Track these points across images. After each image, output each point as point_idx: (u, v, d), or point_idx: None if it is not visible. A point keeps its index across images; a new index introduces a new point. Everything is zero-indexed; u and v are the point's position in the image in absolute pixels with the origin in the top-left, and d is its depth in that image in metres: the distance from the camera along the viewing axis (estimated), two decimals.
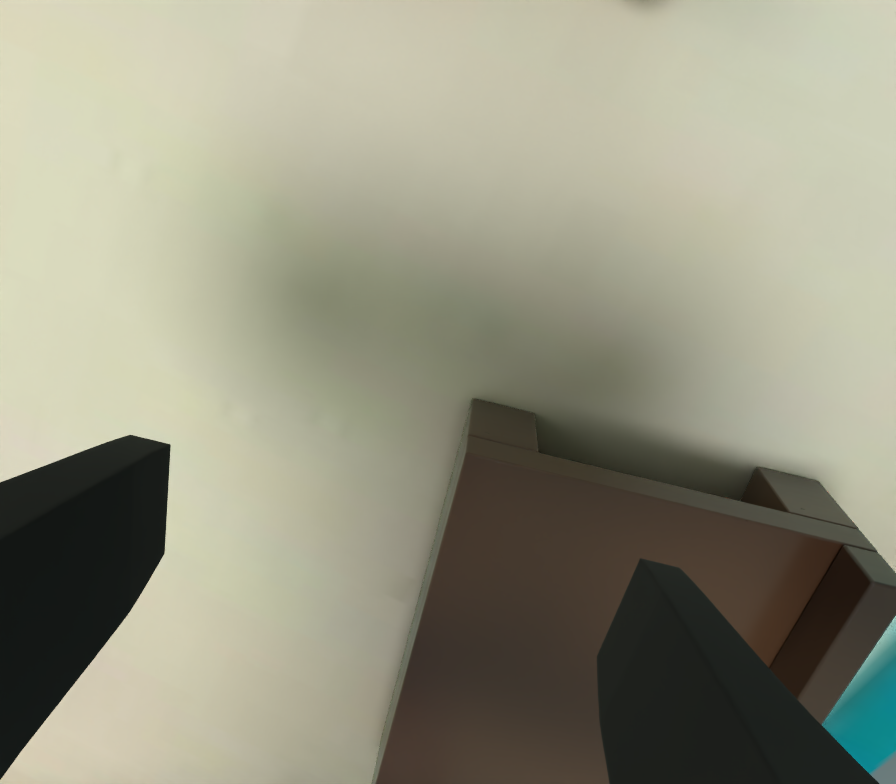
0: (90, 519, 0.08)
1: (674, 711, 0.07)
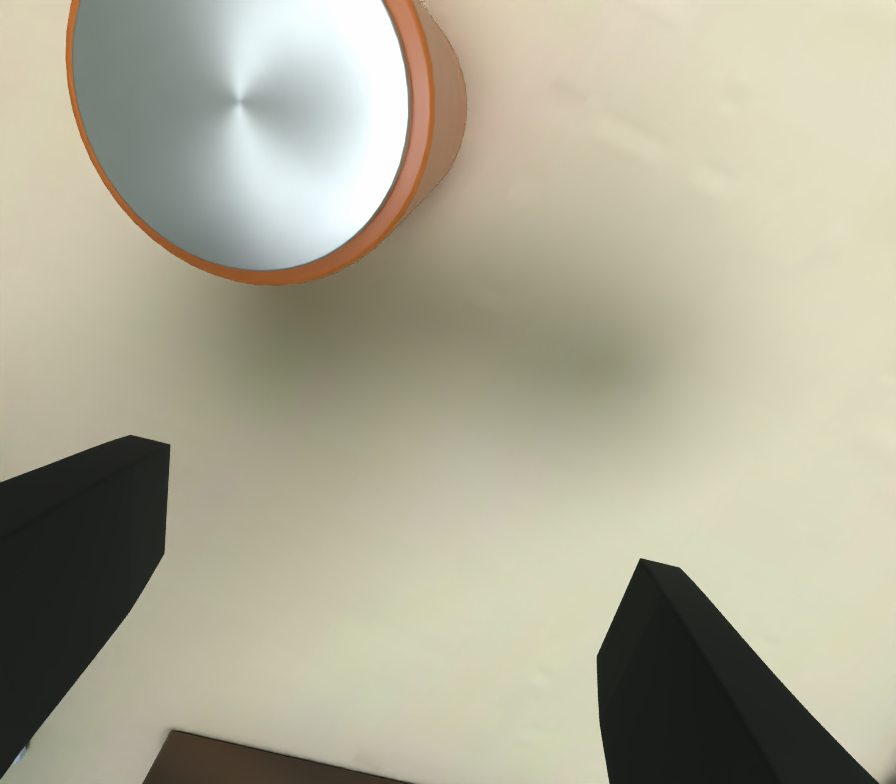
0: (90, 519, 0.08)
1: (674, 711, 0.07)
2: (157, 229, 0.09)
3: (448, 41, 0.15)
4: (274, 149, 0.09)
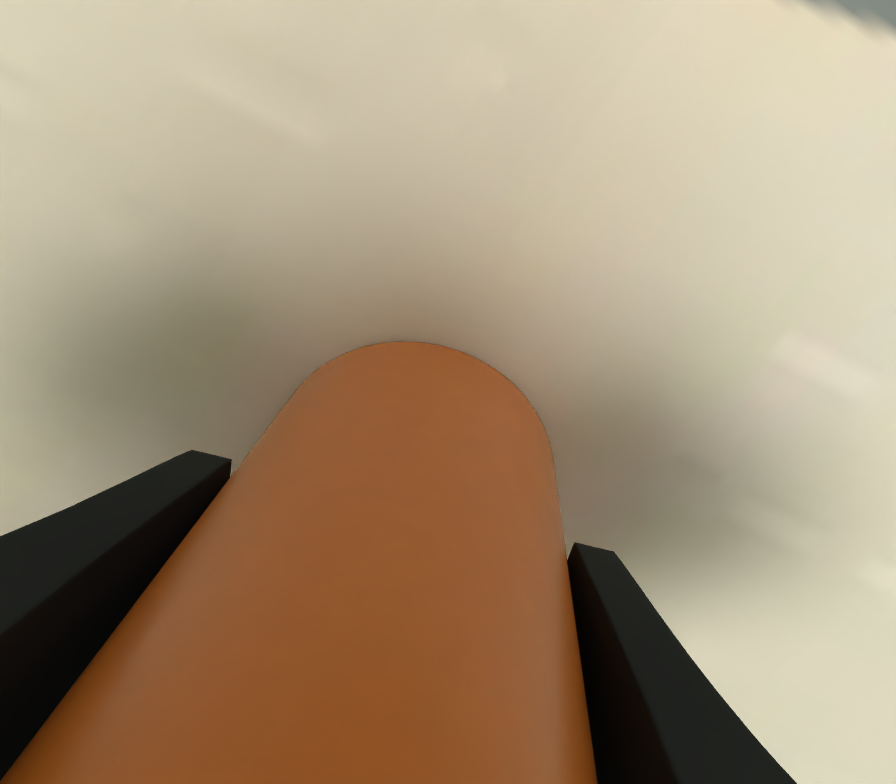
0: (164, 537, 0.08)
1: (591, 691, 0.07)
2: None
3: (538, 430, 0.10)
4: None
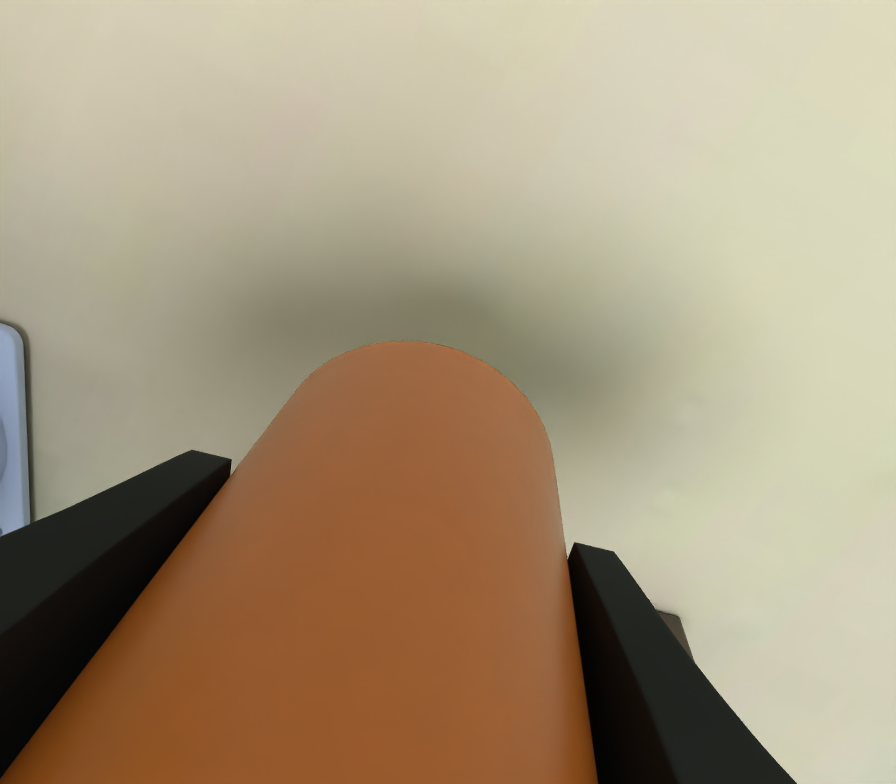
0: (164, 537, 0.08)
1: (591, 691, 0.07)
2: None
3: (538, 430, 0.10)
4: None
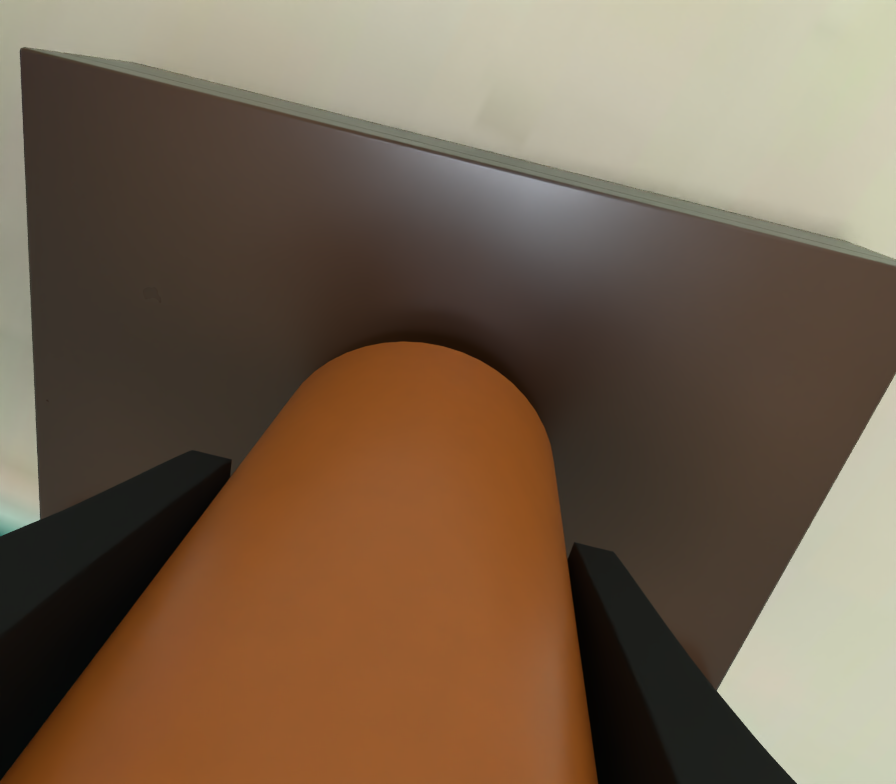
0: (165, 537, 0.08)
1: (591, 691, 0.07)
2: None
3: (538, 430, 0.10)
4: None
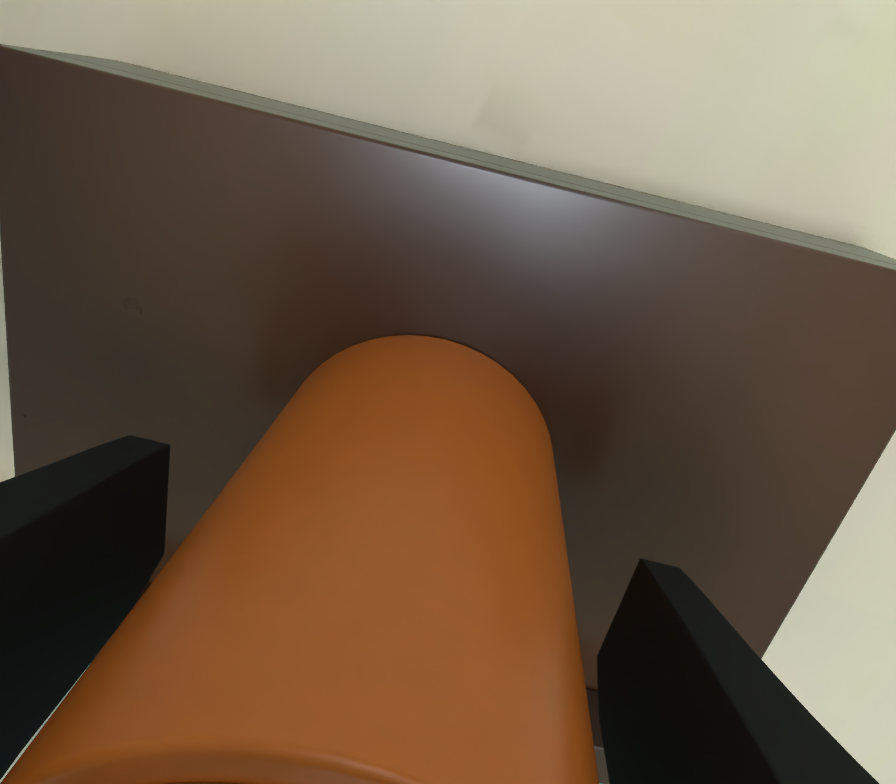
0: (90, 519, 0.08)
1: (674, 711, 0.07)
2: None
3: (538, 421, 0.11)
4: None
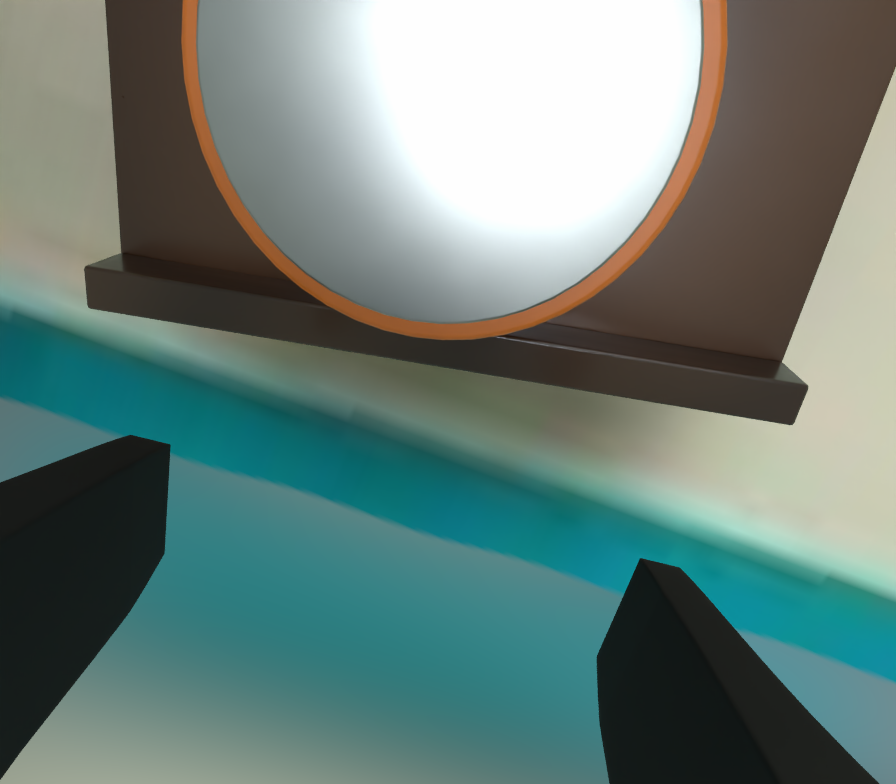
0: (90, 518, 0.08)
1: (674, 711, 0.07)
2: (315, 275, 0.07)
3: None
4: (491, 148, 0.06)
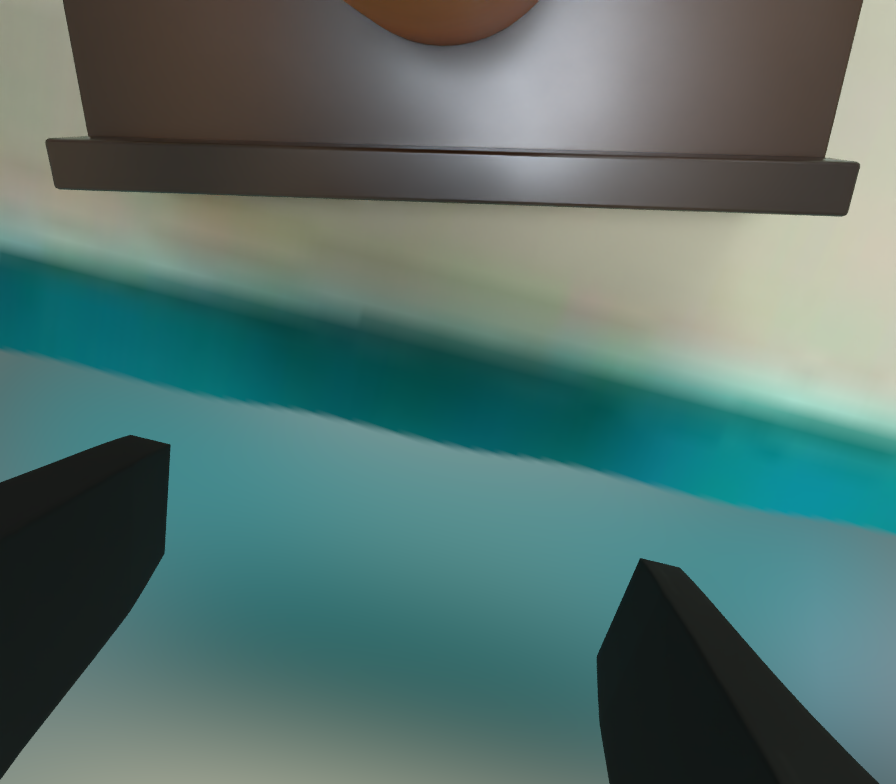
0: (90, 519, 0.08)
1: (674, 711, 0.07)
2: None
3: None
4: None
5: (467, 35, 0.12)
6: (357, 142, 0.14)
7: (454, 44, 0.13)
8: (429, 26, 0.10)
